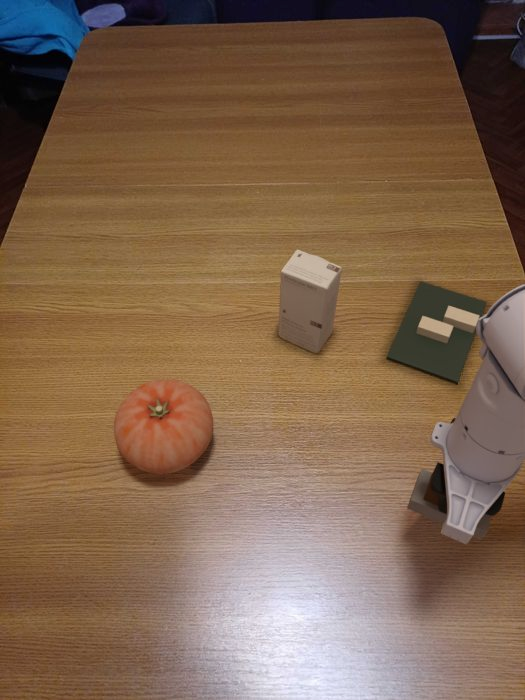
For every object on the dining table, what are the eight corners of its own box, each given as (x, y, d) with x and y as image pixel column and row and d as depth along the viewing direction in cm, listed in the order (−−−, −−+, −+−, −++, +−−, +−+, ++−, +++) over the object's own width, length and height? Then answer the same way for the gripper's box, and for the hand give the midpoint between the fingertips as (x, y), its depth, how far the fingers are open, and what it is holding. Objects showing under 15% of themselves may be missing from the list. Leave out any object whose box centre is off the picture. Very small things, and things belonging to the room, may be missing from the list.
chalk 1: (451, 332, 78) (453, 325, 77) (446, 344, 77) (449, 337, 76) (420, 322, 79) (422, 315, 78) (416, 333, 78) (417, 326, 77)
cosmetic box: (277, 337, 79) (276, 271, 69) (293, 314, 81) (295, 246, 72) (320, 356, 77) (325, 290, 67) (335, 331, 79) (343, 264, 70)
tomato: (102, 442, 70) (84, 406, 64) (175, 386, 75) (165, 347, 68) (162, 506, 66) (149, 473, 59) (236, 442, 70) (231, 405, 64)
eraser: (490, 506, 58) (504, 486, 54) (481, 540, 56) (495, 521, 52) (417, 477, 59) (427, 455, 56) (406, 508, 58) (415, 488, 54)
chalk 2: (476, 322, 79) (479, 315, 78) (472, 333, 78) (475, 326, 77) (446, 312, 80) (448, 305, 79) (441, 323, 79) (444, 316, 78)
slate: (485, 304, 81) (486, 301, 81) (457, 384, 74) (458, 382, 74) (419, 283, 84) (420, 280, 83) (385, 359, 76) (386, 356, 76)
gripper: (470, 331, 50) (434, 417, 61) (418, 481, 42) (387, 549, 53) (560, 361, 48) (506, 445, 59) (522, 524, 40) (468, 586, 51)
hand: (454, 496), depth 56 cm, fingers closed on eraser, 2 cm apart
